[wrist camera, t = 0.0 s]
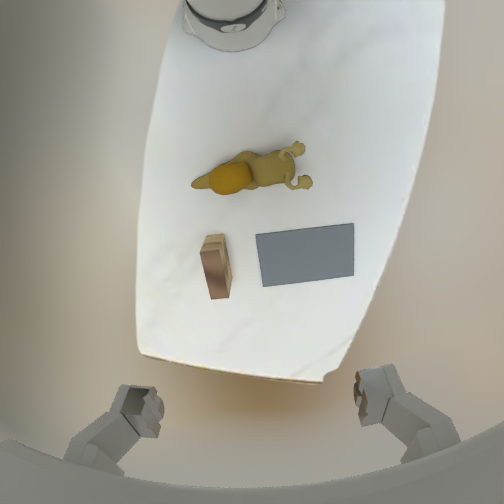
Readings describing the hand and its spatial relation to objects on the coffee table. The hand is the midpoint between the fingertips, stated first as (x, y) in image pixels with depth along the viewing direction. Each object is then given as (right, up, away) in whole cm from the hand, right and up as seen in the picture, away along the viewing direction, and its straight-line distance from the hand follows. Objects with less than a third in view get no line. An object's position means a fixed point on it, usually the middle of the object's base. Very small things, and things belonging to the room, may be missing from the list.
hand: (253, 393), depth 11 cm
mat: (+11, +5, +50) cm, 52 cm away
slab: (-7, +4, +51) cm, 52 cm away
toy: (-1, +21, +44) cm, 48 cm away
